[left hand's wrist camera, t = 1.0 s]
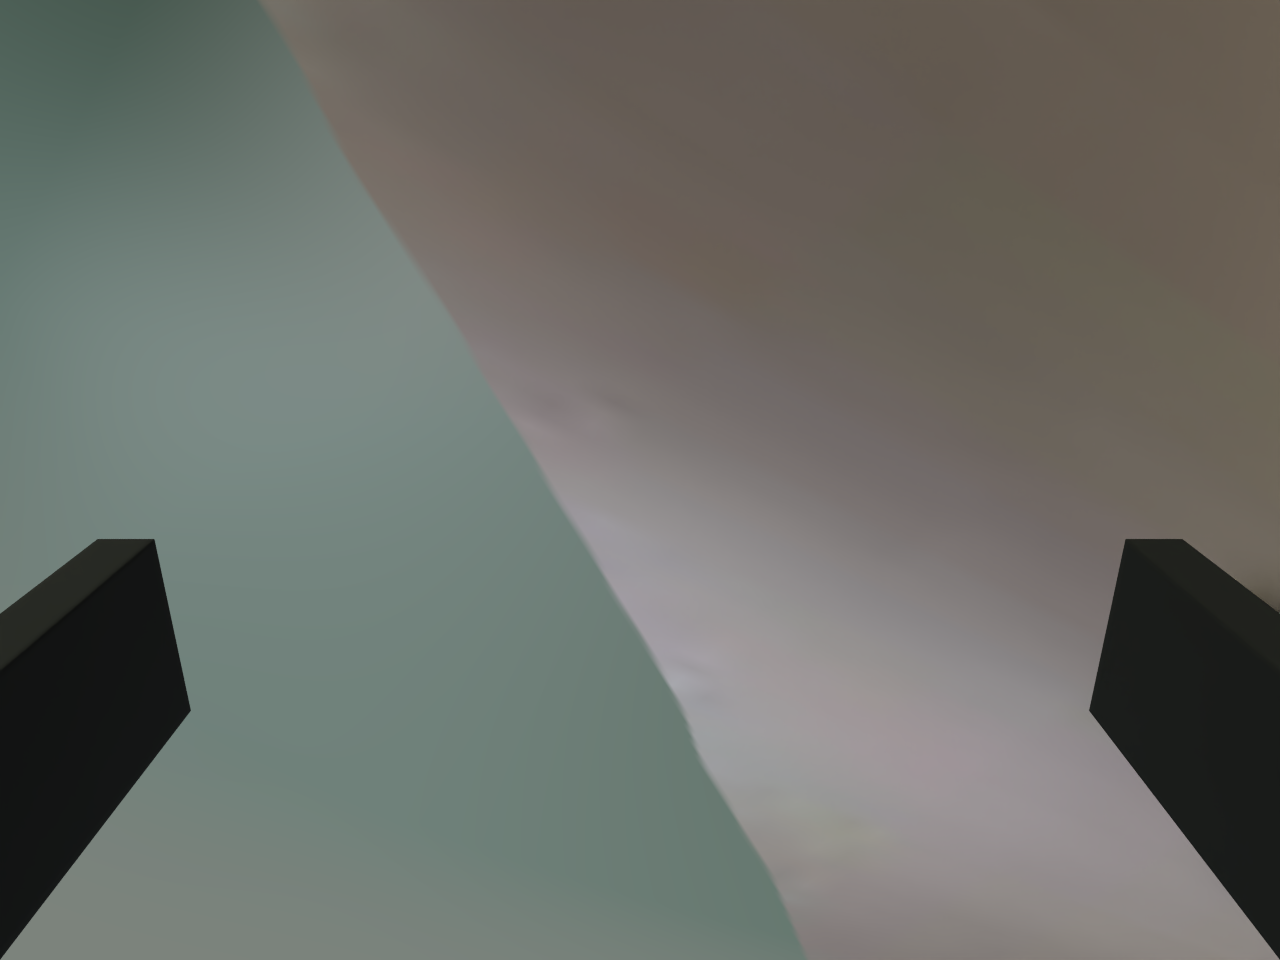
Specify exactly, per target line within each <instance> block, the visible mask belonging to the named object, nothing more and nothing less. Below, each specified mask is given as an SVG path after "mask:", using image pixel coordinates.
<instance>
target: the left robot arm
mask: <svg viewBox="0 0 1280 960" xmlns="http://www.w3.org/2000/svg"><path fill="white" fill-rule="evenodd" d="M190 711H191V710H190V705H189V700H188V695H187V691H186V686H185V681H184V676H183V672H182V667H181V662H180V658H179V653H178V648H177V644H176V639H175V634H174V630H173V625H172V620H171V615H170V611H169V606H168V601H167V596H166V592H165V587H164V582H163V578H162V573H161V568H160V563H159V559H158V554H157V549H156V545H155V540H154V539H97V540H96V541H95V542H93V543H92V544H91V545H89V546H88V547H87V548H86V549H84V550H83V551H82V552H80V553H79V554H78V555H76V556H75V557H74V558H72V559H71V560H70V561H69V562H67V563H66V564H65V565H63V566H62V567H61V568H59V569H58V570H57V571H55V572H54V573H53V574H52V575H50V576H49V577H48V578H46V579H45V580H44V581H43V582H41V583H40V584H38V585H37V586H36V587H35V588H33V589H32V590H31V591H29V592H28V593H27V594H25V595H24V596H23V597H22V598H20V599H19V600H18V601H16V602H15V603H14V604H12V605H11V606H10V607H8V608H7V609H6V610H5V611H3V612H2V613H1V614H0V959H1V958H2V956H3V955H4V954H5V953H6V951H7V950H8V949H9V947H10V946H11V945H12V943H13V942H14V941H15V939H16V938H17V937H18V935H19V934H20V933H21V932H22V930H23V929H24V928H25V926H26V925H27V924H28V922H29V921H30V920H31V918H32V917H33V916H34V915H35V913H36V912H37V911H38V909H39V908H40V907H41V905H42V904H43V903H44V902H45V900H46V899H47V898H48V896H49V895H50V894H51V892H52V891H53V890H54V888H55V887H56V886H57V885H58V883H59V882H60V881H61V879H62V878H63V877H64V875H65V874H66V873H67V872H68V870H69V869H70V868H71V866H72V865H73V864H74V862H75V861H76V860H77V859H78V857H79V856H80V855H81V853H82V852H83V851H84V849H85V848H86V847H87V845H88V844H89V843H90V842H91V840H92V839H93V838H94V836H95V835H96V834H97V832H98V831H99V830H100V828H101V827H102V826H103V825H104V823H105V822H106V821H107V819H108V818H109V817H110V815H111V814H112V813H113V811H114V810H115V809H116V807H117V806H118V805H119V804H120V802H121V801H122V800H123V798H124V797H125V796H126V794H127V793H128V792H129V791H130V789H131V788H132V787H133V785H134V784H135V783H136V781H137V780H138V779H139V778H140V776H141V775H142V774H143V772H144V771H145V770H146V768H147V767H148V766H149V764H150V763H151V762H152V761H153V759H154V758H155V757H156V755H157V754H158V753H159V751H160V750H161V749H162V748H163V746H164V745H165V744H166V742H167V741H168V740H169V738H170V737H171V736H172V734H173V733H174V732H175V731H176V729H177V728H178V727H179V725H180V724H181V723H182V721H183V720H184V719H185V717H186V716H187V715H188V714H189V712H190ZM1089 711H1090V712H1091V714H1092V715H1093V716H1094V717H1095V719H1096V720H1097V721H1098V723H1099V724H1100V725H1101V727H1102V728H1103V729H1104V731H1105V732H1106V733H1107V734H1108V736H1109V737H1110V738H1111V740H1112V741H1113V742H1114V744H1115V745H1116V746H1117V748H1118V749H1119V750H1120V751H1121V753H1122V754H1123V755H1124V757H1125V758H1126V759H1127V761H1128V762H1129V763H1130V764H1131V766H1132V767H1133V768H1134V770H1135V771H1136V772H1137V774H1138V775H1139V776H1140V778H1141V779H1142V780H1143V781H1144V783H1145V784H1146V785H1147V787H1148V788H1149V789H1150V791H1151V792H1152V793H1153V795H1154V796H1155V797H1156V798H1157V800H1158V801H1159V802H1160V804H1161V805H1162V806H1163V808H1164V809H1165V810H1166V811H1167V813H1168V814H1169V815H1170V817H1171V818H1172V819H1173V821H1174V822H1175V823H1176V825H1177V826H1178V827H1179V828H1180V830H1181V831H1182V832H1183V834H1184V835H1185V836H1186V838H1187V839H1188V840H1189V842H1190V843H1191V844H1192V845H1193V847H1194V848H1195V849H1196V851H1197V852H1198V853H1199V855H1200V856H1201V857H1202V859H1203V860H1204V861H1205V862H1206V864H1207V865H1208V866H1209V868H1210V869H1211V870H1212V872H1213V873H1214V874H1215V875H1216V877H1217V878H1218V879H1219V881H1220V882H1221V883H1222V885H1223V886H1224V887H1225V889H1226V890H1227V891H1228V892H1229V894H1230V895H1231V896H1232V898H1233V899H1234V900H1235V902H1236V903H1237V904H1238V906H1239V907H1240V908H1241V909H1242V911H1243V912H1244V913H1245V915H1246V916H1247V917H1248V919H1249V920H1250V921H1251V922H1252V924H1253V925H1254V926H1255V928H1256V929H1257V930H1258V932H1259V933H1260V934H1261V936H1262V937H1263V938H1264V939H1265V941H1266V942H1267V943H1268V945H1269V946H1270V947H1271V949H1272V950H1273V951H1274V953H1275V954H1276V955H1277V956H1278V958H1279V959H1280V614H1279V613H1278V612H1277V611H1275V610H1274V609H1273V608H1272V607H1270V606H1269V605H1268V604H1266V603H1265V602H1264V601H1262V600H1261V599H1260V598H1258V597H1257V596H1256V595H1255V594H1253V593H1252V592H1251V591H1249V590H1248V589H1247V588H1245V587H1244V586H1243V585H1242V584H1240V583H1239V582H1238V581H1236V580H1235V579H1234V578H1232V577H1231V576H1230V575H1228V574H1227V573H1226V572H1225V571H1223V570H1222V569H1221V568H1219V567H1218V566H1217V565H1215V564H1214V563H1213V562H1211V561H1210V560H1209V559H1208V558H1206V557H1205V556H1204V555H1202V554H1201V553H1200V552H1198V551H1197V550H1196V549H1194V548H1193V547H1192V546H1191V545H1189V544H1188V543H1187V542H1185V541H1184V540H1183V539H1126V540H1125V545H1124V549H1123V554H1122V559H1121V563H1120V568H1119V573H1118V578H1117V582H1116V587H1115V592H1114V596H1113V601H1112V606H1111V611H1110V615H1109V620H1108V625H1107V629H1106V634H1105V639H1104V643H1103V648H1102V653H1101V658H1100V662H1099V667H1098V672H1097V676H1096V681H1095V686H1094V691H1093V695H1092V700H1091V705H1090V709H1089Z"/></svg>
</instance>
